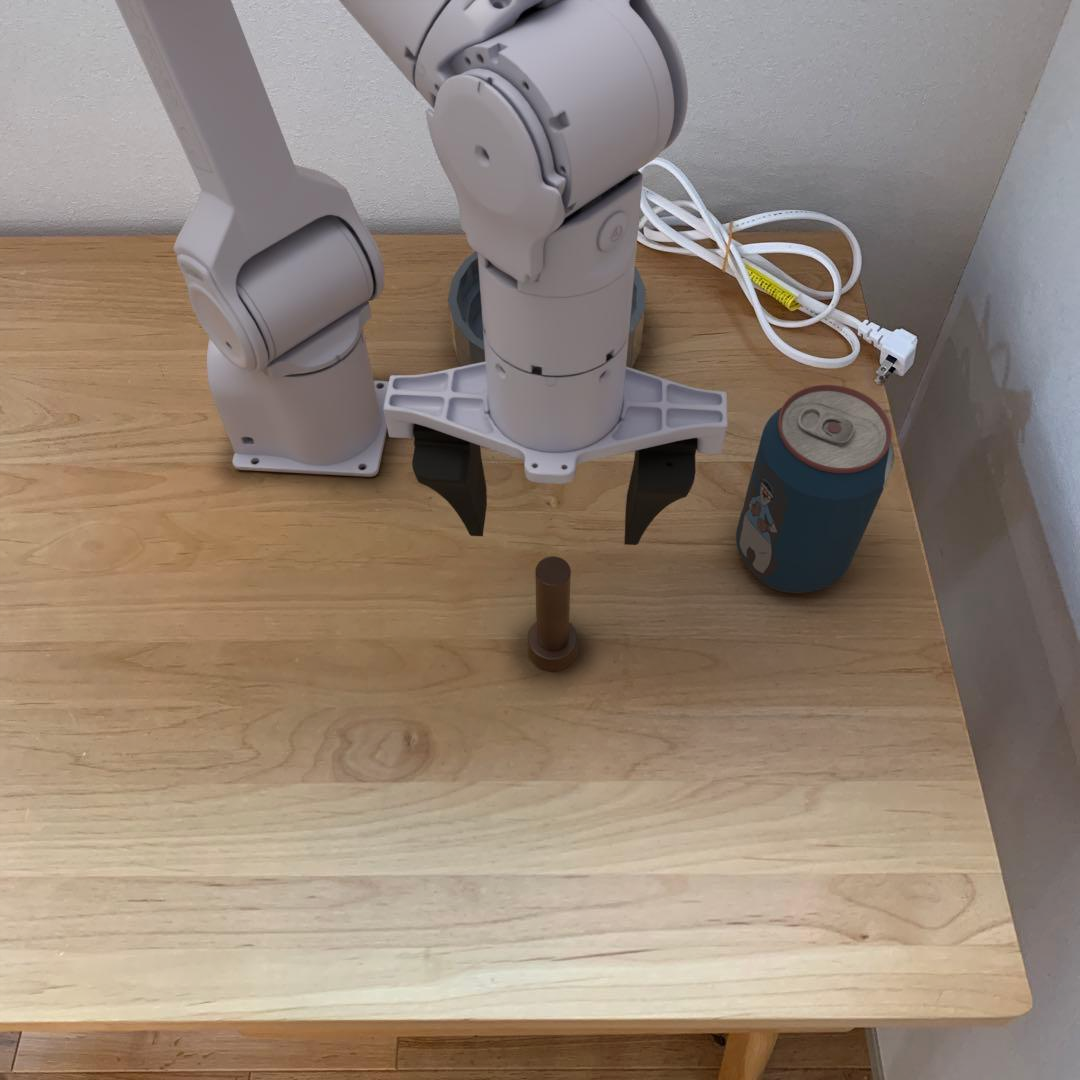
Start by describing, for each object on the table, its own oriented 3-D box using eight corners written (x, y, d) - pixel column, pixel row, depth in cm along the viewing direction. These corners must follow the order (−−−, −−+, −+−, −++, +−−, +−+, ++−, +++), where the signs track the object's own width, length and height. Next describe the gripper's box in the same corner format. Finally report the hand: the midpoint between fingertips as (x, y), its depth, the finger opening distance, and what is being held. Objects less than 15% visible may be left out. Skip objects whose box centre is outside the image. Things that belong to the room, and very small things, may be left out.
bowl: (443, 407, 69) (436, 360, 66) (465, 274, 77) (460, 225, 73) (638, 417, 69) (643, 370, 65) (641, 282, 76) (646, 233, 72)
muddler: (518, 652, 59) (514, 573, 52) (549, 620, 60) (550, 538, 53) (555, 681, 58) (556, 604, 51) (586, 647, 59) (592, 568, 52)
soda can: (864, 536, 63) (922, 406, 53) (822, 621, 60) (877, 499, 50) (759, 492, 65) (797, 358, 55) (714, 572, 62) (745, 444, 52)
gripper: (353, 390, 38) (398, 583, 49) (747, 410, 37) (701, 601, 49) (383, 262, 42) (419, 468, 53) (740, 278, 41) (699, 483, 52)
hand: (554, 524), depth 51 cm, fingers open, 7 cm apart
